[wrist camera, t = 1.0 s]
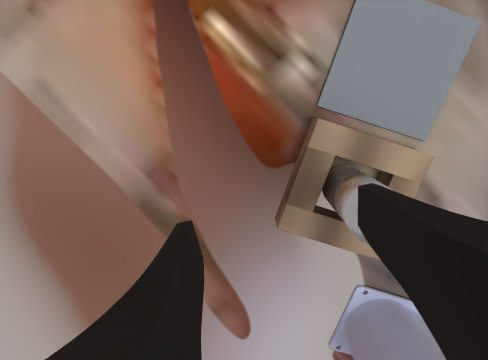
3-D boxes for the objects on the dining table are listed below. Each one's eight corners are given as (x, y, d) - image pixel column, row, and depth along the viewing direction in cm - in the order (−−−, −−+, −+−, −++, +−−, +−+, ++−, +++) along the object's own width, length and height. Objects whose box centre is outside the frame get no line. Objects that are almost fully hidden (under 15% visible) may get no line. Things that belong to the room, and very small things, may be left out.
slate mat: (478, 22, 24) (482, 20, 23) (422, 140, 26) (425, 141, 26) (362, -20, 23) (364, -22, 23) (316, 105, 26) (317, 105, 25)
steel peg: (372, 172, 27) (420, 199, 19) (355, 211, 28) (394, 252, 20) (331, 159, 27) (363, 181, 19) (315, 198, 28) (339, 235, 20)
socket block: (417, 151, 26) (434, 156, 24) (371, 248, 29) (382, 261, 26) (312, 116, 26) (318, 117, 23) (275, 217, 28) (277, 228, 26)
